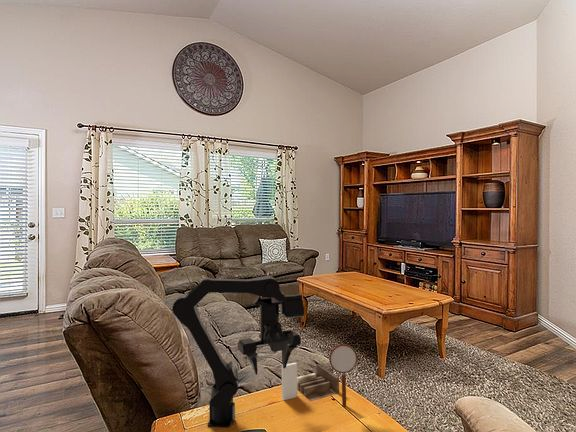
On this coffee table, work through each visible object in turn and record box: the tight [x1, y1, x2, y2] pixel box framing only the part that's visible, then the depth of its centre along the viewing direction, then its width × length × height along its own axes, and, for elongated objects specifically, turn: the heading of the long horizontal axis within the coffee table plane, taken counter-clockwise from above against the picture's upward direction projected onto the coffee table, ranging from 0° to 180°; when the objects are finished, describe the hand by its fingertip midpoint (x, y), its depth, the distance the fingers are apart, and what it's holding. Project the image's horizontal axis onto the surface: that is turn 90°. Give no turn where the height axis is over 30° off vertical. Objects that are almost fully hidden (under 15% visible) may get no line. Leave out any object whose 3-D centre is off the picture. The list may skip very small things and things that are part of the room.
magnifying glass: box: [329, 343, 358, 408], centre depth 104 cm, size 9×2×20 cm, turn 94°
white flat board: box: [280, 362, 298, 401], centre depth 110 cm, size 5×1×12 cm, turn 116°
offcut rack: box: [297, 363, 340, 402], centre depth 115 cm, size 11×13×6 cm
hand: (270, 371), depth 103 cm, fingers open, 9 cm apart
